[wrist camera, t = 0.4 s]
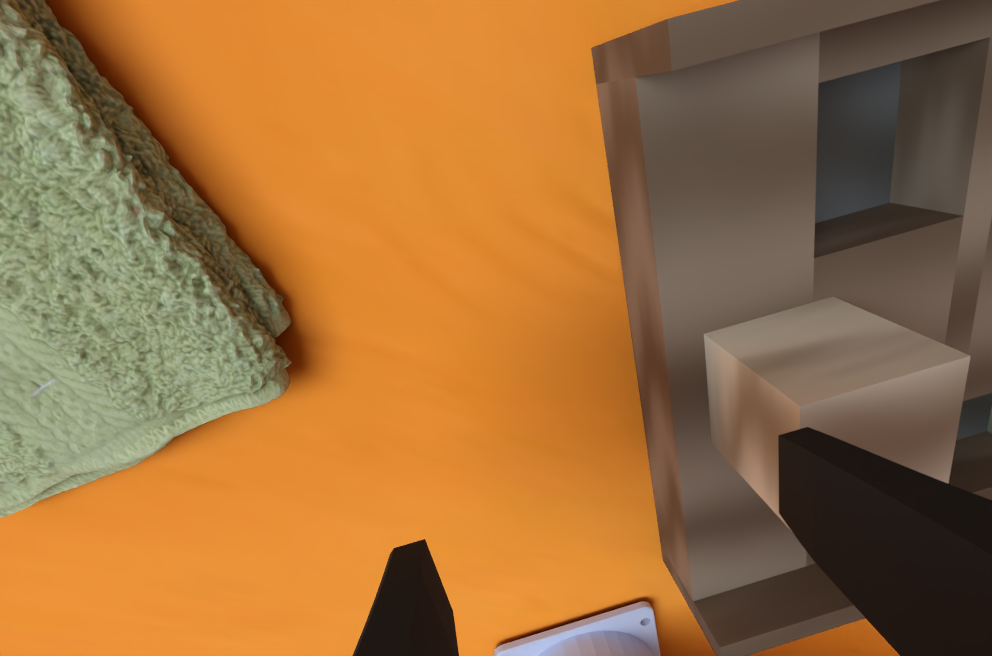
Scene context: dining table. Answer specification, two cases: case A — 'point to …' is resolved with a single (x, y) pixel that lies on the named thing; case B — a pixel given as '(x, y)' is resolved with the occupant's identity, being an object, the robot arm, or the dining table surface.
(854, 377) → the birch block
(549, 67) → the dining table surface
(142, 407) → the washcloth
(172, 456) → the dining table surface
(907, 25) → the trap box
